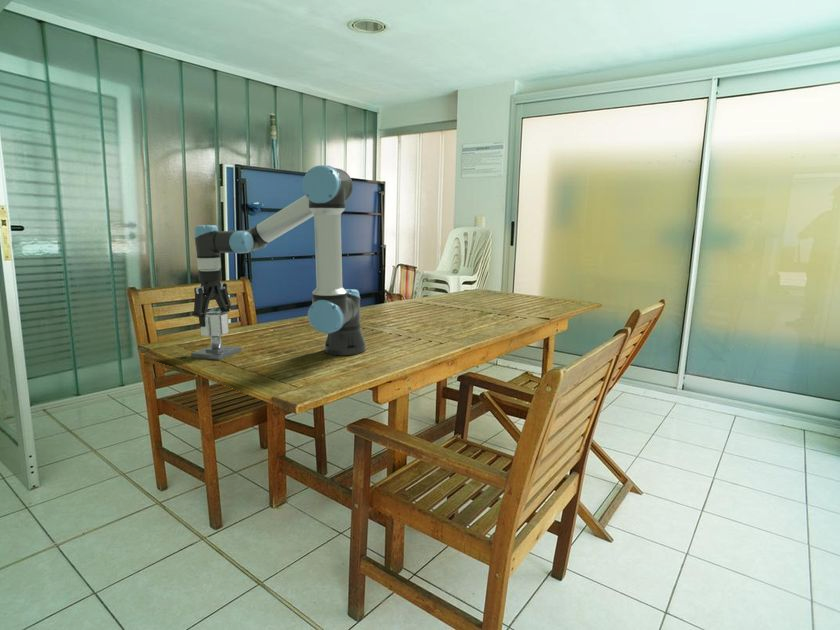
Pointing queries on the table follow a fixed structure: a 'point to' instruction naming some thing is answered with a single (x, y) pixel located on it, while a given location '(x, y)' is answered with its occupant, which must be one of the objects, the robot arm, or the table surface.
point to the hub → (217, 323)
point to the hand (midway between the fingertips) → (215, 332)
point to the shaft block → (216, 350)
